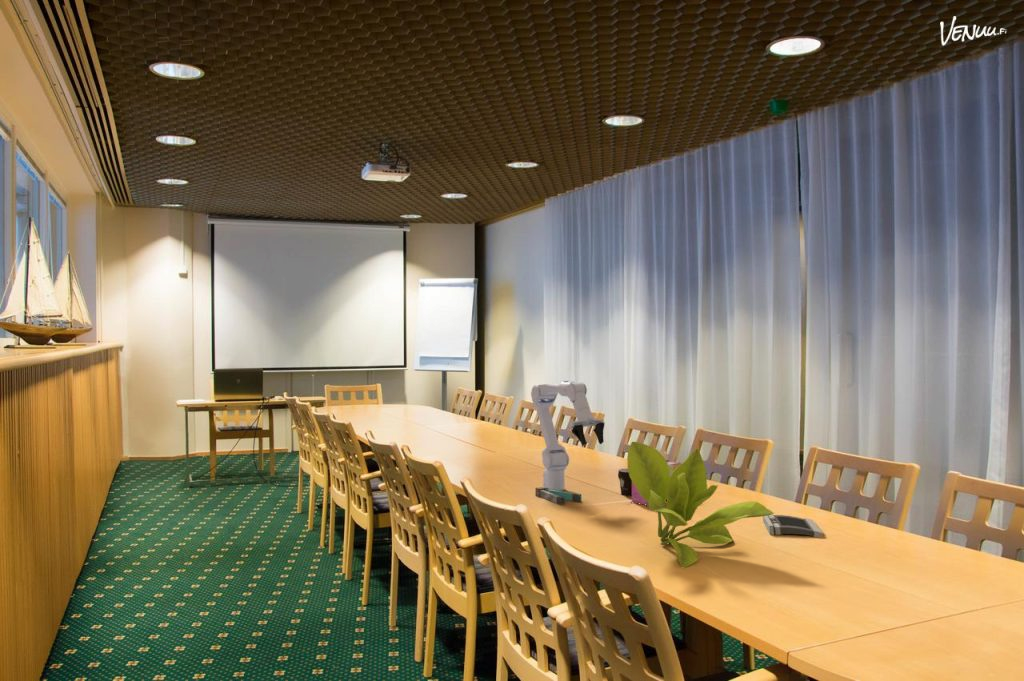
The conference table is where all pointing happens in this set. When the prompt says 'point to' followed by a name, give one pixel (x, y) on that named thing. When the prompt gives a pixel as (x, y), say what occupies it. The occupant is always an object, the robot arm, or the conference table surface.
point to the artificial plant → (683, 499)
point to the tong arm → (567, 495)
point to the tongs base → (548, 495)
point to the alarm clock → (791, 525)
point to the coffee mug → (625, 482)
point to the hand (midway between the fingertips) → (593, 443)
